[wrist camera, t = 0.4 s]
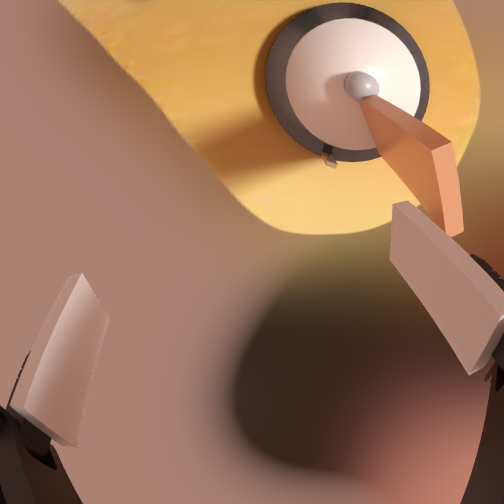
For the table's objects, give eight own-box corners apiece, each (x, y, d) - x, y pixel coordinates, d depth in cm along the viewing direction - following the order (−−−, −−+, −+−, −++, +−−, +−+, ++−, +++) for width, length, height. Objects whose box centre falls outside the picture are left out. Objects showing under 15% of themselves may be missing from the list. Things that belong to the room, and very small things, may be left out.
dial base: (345, -26, 19) (356, -34, 16) (449, 94, 27) (467, 102, 23) (229, 85, 29) (225, 91, 26) (347, 186, 36) (356, 202, 33)
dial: (258, 52, 25) (256, 58, 12) (384, 3, 20) (487, -9, 7) (325, 172, 33) (366, 274, 20) (432, 127, 28) (523, 200, 15)
